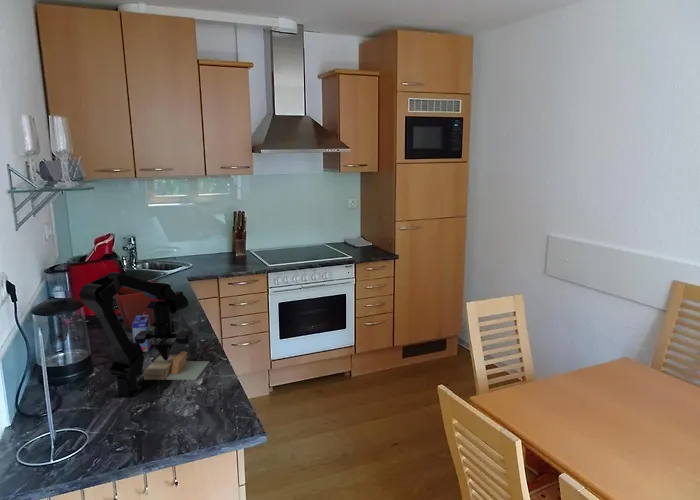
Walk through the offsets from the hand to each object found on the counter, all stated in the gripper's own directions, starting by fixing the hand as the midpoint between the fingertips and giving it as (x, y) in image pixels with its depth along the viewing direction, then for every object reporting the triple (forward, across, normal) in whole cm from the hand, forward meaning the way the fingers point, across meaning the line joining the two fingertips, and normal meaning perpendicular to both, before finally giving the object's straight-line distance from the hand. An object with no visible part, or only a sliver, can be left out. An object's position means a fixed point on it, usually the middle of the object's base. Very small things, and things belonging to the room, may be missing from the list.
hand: (166, 359), depth 173 cm
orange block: (+1, -4, 0) cm, 4 cm away
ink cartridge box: (+4, +18, -20) cm, 27 cm away
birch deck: (+4, +2, 0) cm, 4 cm away
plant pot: (+4, +32, -48) cm, 58 cm away
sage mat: (+4, -8, 0) cm, 9 cm away
